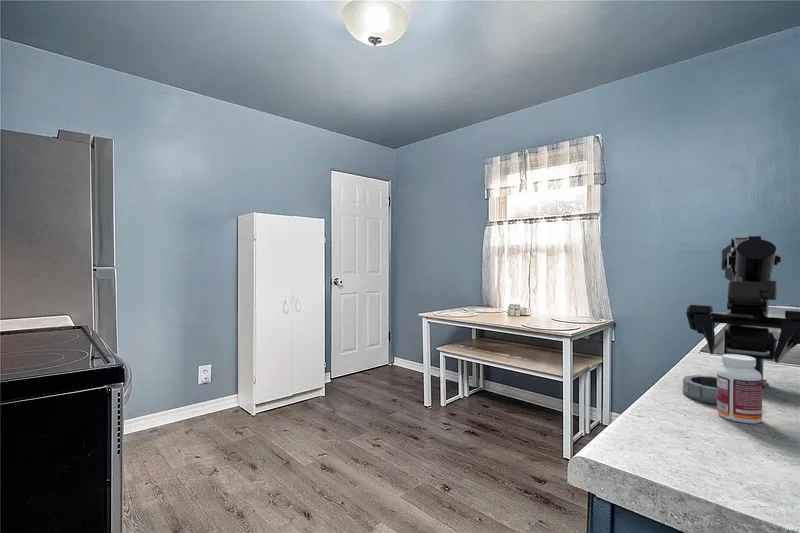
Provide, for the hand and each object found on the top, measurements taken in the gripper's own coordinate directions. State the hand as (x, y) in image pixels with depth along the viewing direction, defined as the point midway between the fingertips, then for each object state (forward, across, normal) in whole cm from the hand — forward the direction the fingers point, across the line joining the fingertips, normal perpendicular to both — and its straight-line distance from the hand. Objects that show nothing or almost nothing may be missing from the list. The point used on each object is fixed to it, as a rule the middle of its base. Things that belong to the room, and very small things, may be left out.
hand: (742, 356), depth 74 cm
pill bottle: (+10, 0, +5) cm, 11 cm away
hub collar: (+3, -5, +12) cm, 13 cm away
